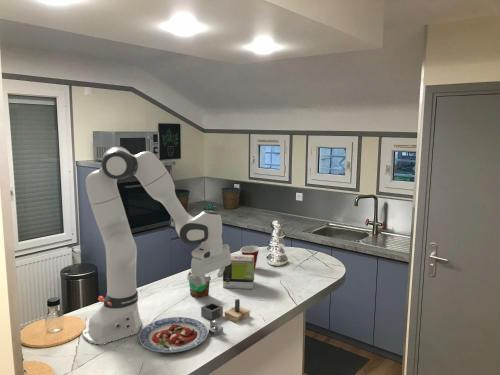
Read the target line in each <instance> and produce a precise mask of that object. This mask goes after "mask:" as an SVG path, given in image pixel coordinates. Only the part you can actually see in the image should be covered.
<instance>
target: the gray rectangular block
mask: <svg viewBox="0 0 500 375" xmlns="http://www.w3.org/2000/svg"><path fill="white" fill-rule="evenodd" d="M209 326H210V327H209V329H210V328H212V327H214V324H213V323H212V321H211V320H209Z"/></svg>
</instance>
